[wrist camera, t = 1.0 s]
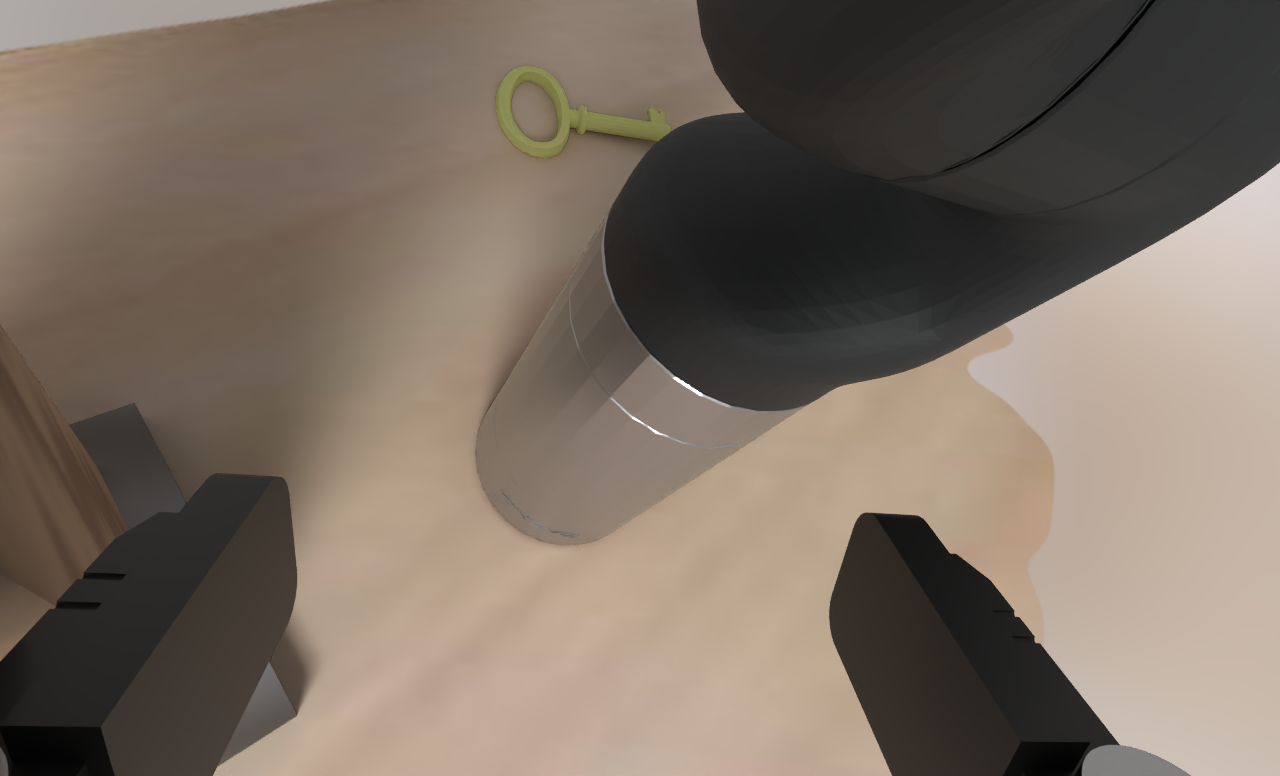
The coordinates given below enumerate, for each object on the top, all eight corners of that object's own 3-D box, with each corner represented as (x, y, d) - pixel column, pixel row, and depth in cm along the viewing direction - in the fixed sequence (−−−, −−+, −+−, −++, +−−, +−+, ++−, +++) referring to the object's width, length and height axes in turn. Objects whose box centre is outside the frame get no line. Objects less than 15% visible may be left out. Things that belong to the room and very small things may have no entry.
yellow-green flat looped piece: (667, 155, 51) (681, 134, 49) (514, 165, 44) (523, 141, 43) (628, 78, 53) (639, 56, 51) (474, 78, 46) (482, 52, 44)
